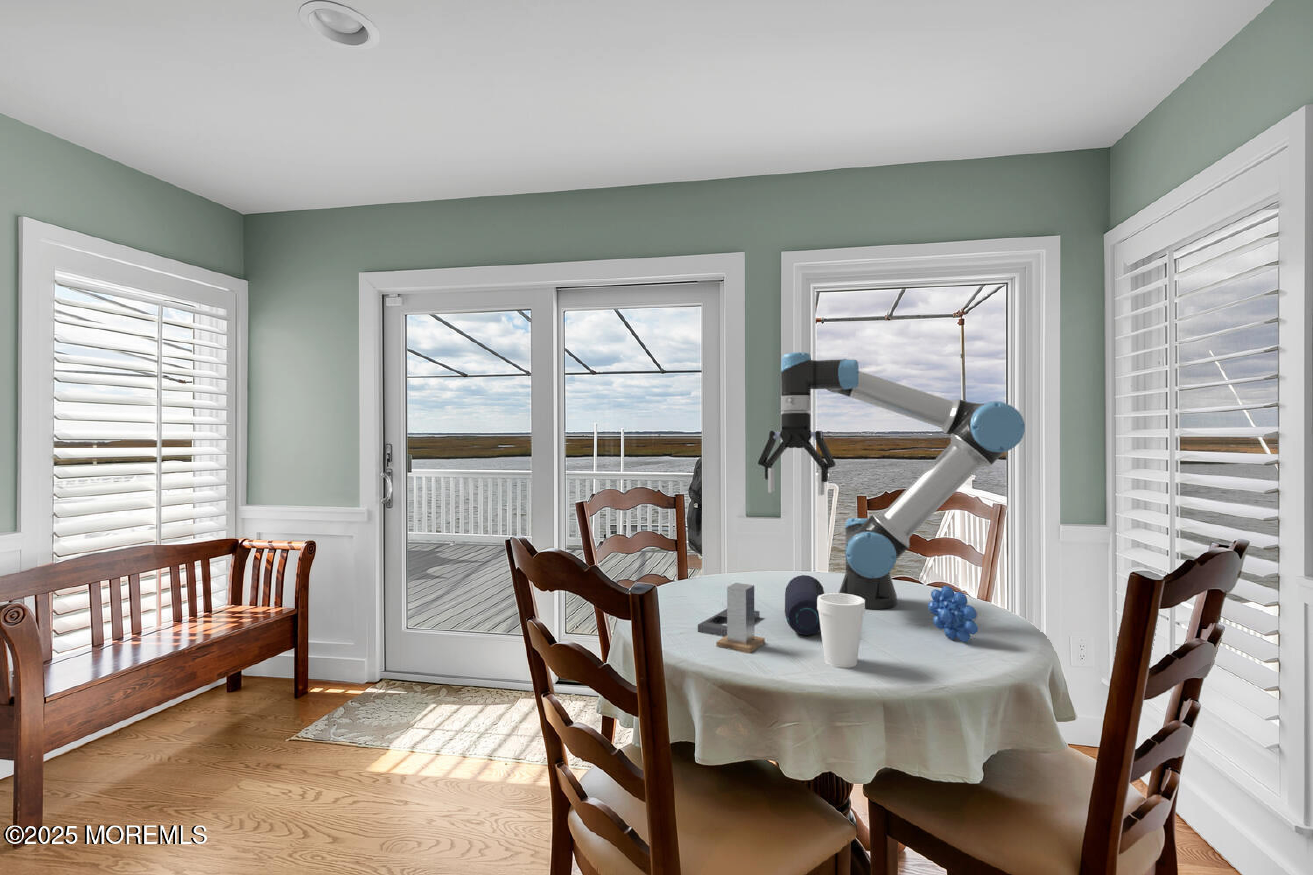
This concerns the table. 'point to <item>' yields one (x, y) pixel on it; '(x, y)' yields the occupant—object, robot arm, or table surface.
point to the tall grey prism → (740, 613)
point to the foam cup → (840, 627)
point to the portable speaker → (803, 604)
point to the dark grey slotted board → (718, 629)
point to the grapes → (953, 614)
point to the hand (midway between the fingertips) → (795, 493)
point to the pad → (741, 647)
